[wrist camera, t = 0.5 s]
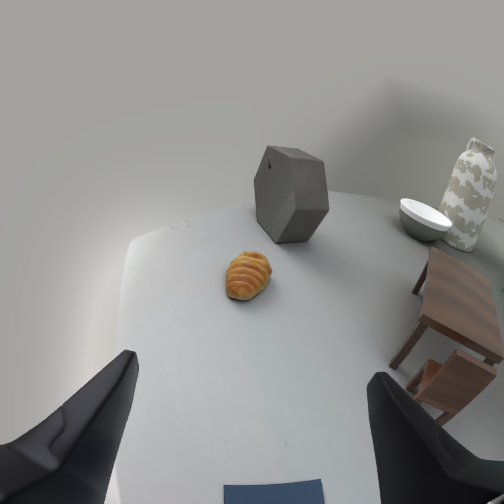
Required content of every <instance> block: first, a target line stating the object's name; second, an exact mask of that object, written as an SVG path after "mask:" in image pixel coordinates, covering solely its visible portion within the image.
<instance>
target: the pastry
mask: <svg viewBox="0 0 504 504" xmlns="http://www.w3.org/2000/svg"><path fill="white" fill-rule="evenodd" d="M271 273H272V268H271V267H270V264H269V262H268V261H267V258H266V257H265V256H264V255H262V254H260V253H257V252H244V253H242V254H240V255H239V256H238V257H237V258H236V259H235V260H234V261H232V262H231V264H230V266H229V268H228V270H227V275H226V278H227V279H226V291H227V293H228V296H230V297H231V298H235V299H238V300H249V299H251V298H253V297H254V296H255V295H256V294H257V293H260V292H261V291H263V289H264V287H265V286H266V285H267V284H268V280H269V277H270V275H271Z"/></svg>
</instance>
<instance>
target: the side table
mask: <svg viewBox="0 0 504 504" xmlns="http://www.w3.org/2000/svg"><path fill="white" fill-rule="evenodd" d="M425 279H426V282H425V288H424V294H423V299H422V305H421V310H420V315H419V319H418V323H417V324H416V326H415V327H414V329H413V330H412V332H411V333H410V335H409V336H408V338H407V339H406V341H405V342H404V343H403V345H402V346H401V348H400V349H399V351H398V352H397V353H396V355H395V356H394V357H393V359H392V360H391V362H390V365H389V367H391V368H393V369H395V370H396V369H397V368H398V366H399V365H400V364H401V363H402V361H403V360H404V359H405V357H406V356H407V355H408V353H409V352H410V351H411V349H412V348H413V347H414V345H415V344H416V342H417V341H418V340H419V338H420V337H421V335H422V334H423V333H424V331H425V330H426V328H427V327H428V326H429V327H431V328H433V329H434V330H436V331H438V332H440V333H442V334H444V335H446V336H448V337H449V338H451V339H453V340H455V341H457V342H459V343H461V344H462V345H464V346H466V347H468V348H470V349H472V350H473V351H475V352H477V353H479V354H481V355H483V356H484V357H486V359H485V360H484V361H483V362H484V363H486V364H488V365H490V366H491V367H492V366H493V365H494V364H495V363H497V364H499V363H500V362H501V361H502V360H503V359H504V353H503V346H502V339H501V333H500V327H499V322H498V317H497V312H496V307H495V303H494V299H493V295H492V291H491V287H490V283H489V280H488V277H487V276H485V275H484V274H482V273H480V272H478V271H477V270H475V269H473V268H471V267H470V266H468V265H466V264H464V263H462V262H461V261H459V260H457V259H455V258H453V257H451V256H449V255H448V254H446V253H444V252H442V251H440V250H438V249H436V248H434V247H431V249H430V251H429V259H428V261H427V263H426V265H425V267H424V269H423V271H422V273H421V275H420V277H419V279H418V281H417V283H416V285H415V286H414V288H413V291H412V293H414V294H416V295H417V294H418V292H419V290H420V288H421V287H422V285H423V283H424V281H425Z"/></svg>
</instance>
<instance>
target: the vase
mask: <svg viewBox="0 0 504 504" xmlns="http://www.w3.org/2000/svg"><path fill="white" fill-rule="evenodd" d="M472 144H473V148H472V149H471V146H472ZM494 153H495V150H494V149H493V148H491V147H490V146H488V145H486V144H484V143H482V142H480V141H478V140H477V139H476V138H472V139H470V141H469V143H468V145H467V149H466V152H464V153H463V154H461V155H460V157H459V158H458V160H457V162H456V165H455V168H454V170H453V173H452V176H451V178H450V181H449V184H448V187H447V189H446V191H445V194H444V197H443V199H442V202H441V204H440V207H439V209H438V212H440V213H441V214H443V215H444V216H446V217H447V218H448V219H449V220H450V221H451V223H452V226H451V227H450V228H449V229H448V231H447V233H446V234H445V236H443V237H442V238H441V240H443V241H444V242H446V243H447V244H449V245H450V246H452V247H454V248H456V249H458V250H461V251H464V252H471V251H472V250H473V248H474V246H475V243H476V241H477V239H478V236H479V234H480V232H481V229H482V226H483V224H484V221H485V218H486V215H487V212H488V209H489V206H490V203H491V200H492V196H493V193H494V189H495V185H496V180H497V173H496V168H495V166H494V164H493V162H492V155H493V154H494Z"/></svg>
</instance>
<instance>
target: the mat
mask: <svg viewBox="0 0 504 504" xmlns="http://www.w3.org/2000/svg"><path fill="white" fill-rule="evenodd" d="M224 504H325V502H324V496H323V490H322V484H321V479H318V480H311V481H303V482H295V483H284V484H270V485H224Z"/></svg>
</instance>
